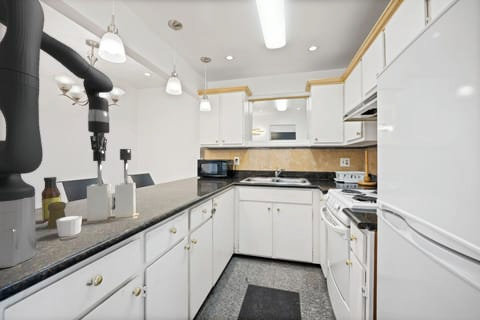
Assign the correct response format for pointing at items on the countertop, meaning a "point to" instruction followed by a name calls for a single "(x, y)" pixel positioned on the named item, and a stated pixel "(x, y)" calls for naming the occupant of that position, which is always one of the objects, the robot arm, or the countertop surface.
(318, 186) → the countertop surface
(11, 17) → the robot arm
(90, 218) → the jar left
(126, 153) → the plunger right
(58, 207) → the cork
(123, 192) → the jar right
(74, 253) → the countertop surface
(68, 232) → the white ramekin
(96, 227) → the countertop surface
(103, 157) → the plunger left
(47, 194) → the sauce bottle
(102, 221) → the stand
